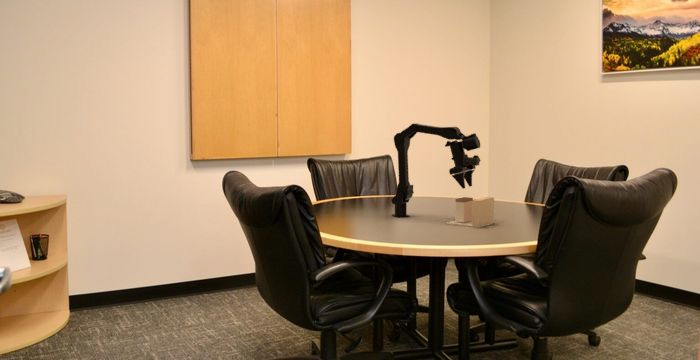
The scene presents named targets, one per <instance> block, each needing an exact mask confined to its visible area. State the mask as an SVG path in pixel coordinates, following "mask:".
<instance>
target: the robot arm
mask: <svg viewBox="0 0 700 360" xmlns="http://www.w3.org/2000/svg"><path fill="white" fill-rule="evenodd" d="M417 133H421V134H426V135H427V134H429V135H433V136H438V137H439V136H440V137H442V138H444V139H446V140H447V141H446V143H445V145H444V147H449V149H450V152H451V155H452V157H451V161H453V163H454V166H453V167H451V168H449V170H448V172H449V176H451V177H452V178H453V179H454V180H455V181H456V183H457V184H458V185H459V186H460V187H461V188H462V189H463V190H464V189H466V183H467V185H468V186H469V187H472V186H473V173H474V172H475V171H476V167H477V166H480V162H481V161H482V160H481V158H480V157H479V155H477V154H474V155H473V156H472V157H471V156H470V157H469V156H468V154H467V153H465V150H466V151H467V152H469V151H473V150H477V149H480V148H481V142H480V139H479V137H478V136H477V134H476V133H471V134H469V135H465V134H464V133H463V132H461V130H460V128H459V127H458V126H444V127H443V126H433V125H427V124H421V123H416V122H415V123H411V124H410V125H409V126H408V127H406V128H405V129H403V130H402V131H400V132H397V133H396V134H395V135H394V136H393V143H394V147H395V149H396V151H397V167H398V168H397V169H398V184H397V187H396V191H395V192H396V193H395V195H394V196H393V197H392V198H391V204H392V205H394V213H392V214H391V216H393V217H396V218H403V217H410V215H409V214H407V211H408V210H407V205H408V204H407V203H409V202H410V199H411V198H413V194H414V193H415V191H414V184H411V183H410V180H409V179H410V178H409V155H408V154H409V153H408V152H409V149H410V146H411V139H413V138H414V137H415V135H417ZM450 140H451V141H450ZM465 182H466V183H465Z"/></svg>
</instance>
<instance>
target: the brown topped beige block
mask: <svg viewBox="0 0 700 360" xmlns="http://www.w3.org/2000/svg"><path fill="white" fill-rule="evenodd" d="M473 198H474V197H469V196H467V197H466V196H463V197H460V198H455V222H467V221H471V220H472V215H473V200H474V199H473Z"/></svg>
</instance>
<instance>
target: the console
mask: <svg viewBox="0 0 700 360" xmlns="http://www.w3.org/2000/svg"><path fill="white" fill-rule="evenodd" d="M494 217H495V197H494V196H486V197H481V198H476V199H473V205H472V220H471V221H467V222H455V220H450V221H446V222H445V224H446V225H451V226H459V227H468V228H475V229H477V228H478V229H479V228H483V227H486V226H489V225H493V224H495V222H494V221H495V220H494V219H495V218H494Z"/></svg>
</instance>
